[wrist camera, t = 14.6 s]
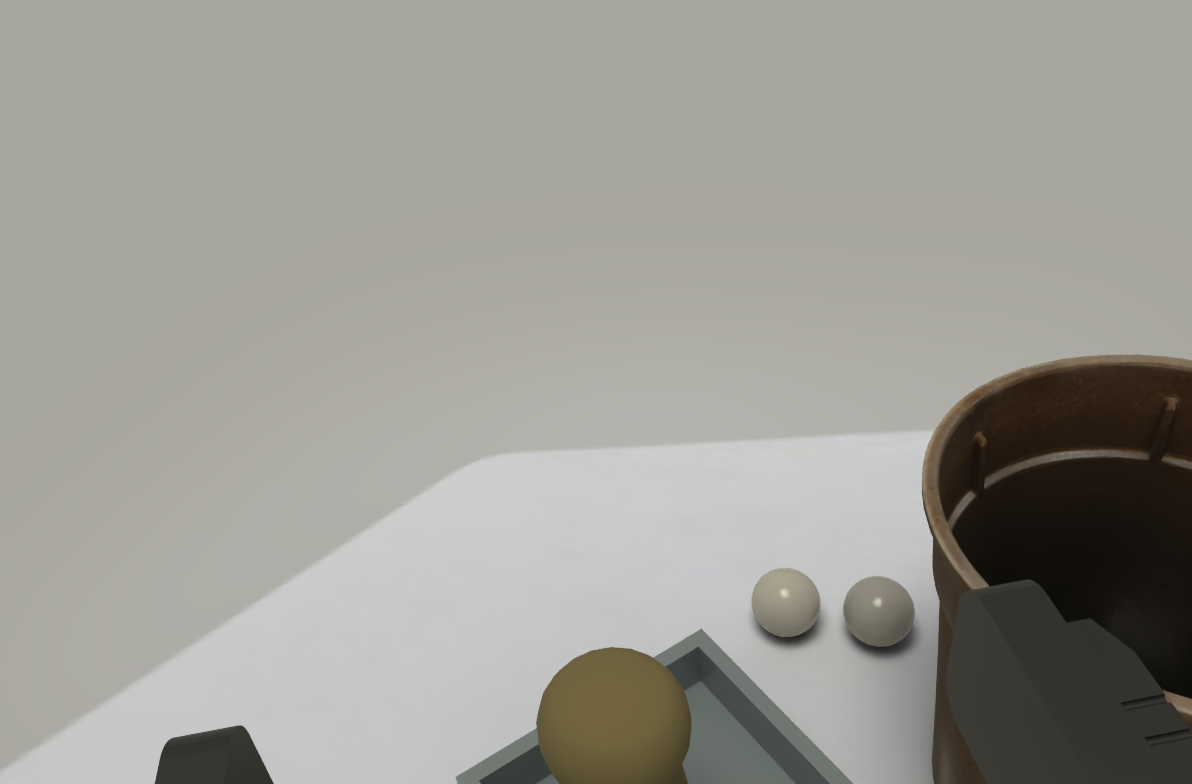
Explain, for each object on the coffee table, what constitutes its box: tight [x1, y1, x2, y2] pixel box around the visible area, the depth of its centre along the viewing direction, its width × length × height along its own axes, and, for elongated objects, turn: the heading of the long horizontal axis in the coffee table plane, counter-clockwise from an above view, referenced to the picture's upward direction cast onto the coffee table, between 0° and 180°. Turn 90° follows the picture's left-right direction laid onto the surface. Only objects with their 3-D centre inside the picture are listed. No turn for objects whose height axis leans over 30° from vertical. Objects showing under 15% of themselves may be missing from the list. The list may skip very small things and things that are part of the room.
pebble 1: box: [752, 568, 820, 637], centre depth 49 cm, size 3×3×3 cm
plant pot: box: [922, 355, 1192, 784], centre depth 37 cm, size 16×16×16 cm
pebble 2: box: [843, 576, 915, 647], centre depth 48 cm, size 3×3×3 cm
